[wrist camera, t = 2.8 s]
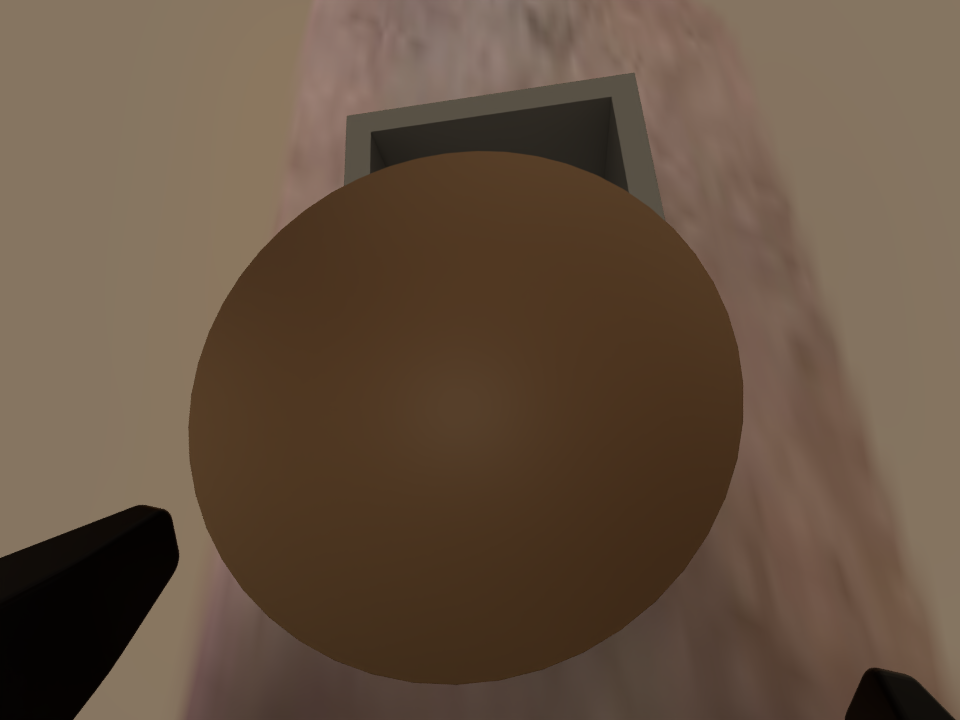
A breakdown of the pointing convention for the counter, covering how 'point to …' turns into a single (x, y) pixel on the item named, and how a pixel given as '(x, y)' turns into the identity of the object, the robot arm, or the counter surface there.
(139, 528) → the robot arm
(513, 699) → the counter surface
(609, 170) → the socket cup
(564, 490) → the walnut peg
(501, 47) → the counter surface
